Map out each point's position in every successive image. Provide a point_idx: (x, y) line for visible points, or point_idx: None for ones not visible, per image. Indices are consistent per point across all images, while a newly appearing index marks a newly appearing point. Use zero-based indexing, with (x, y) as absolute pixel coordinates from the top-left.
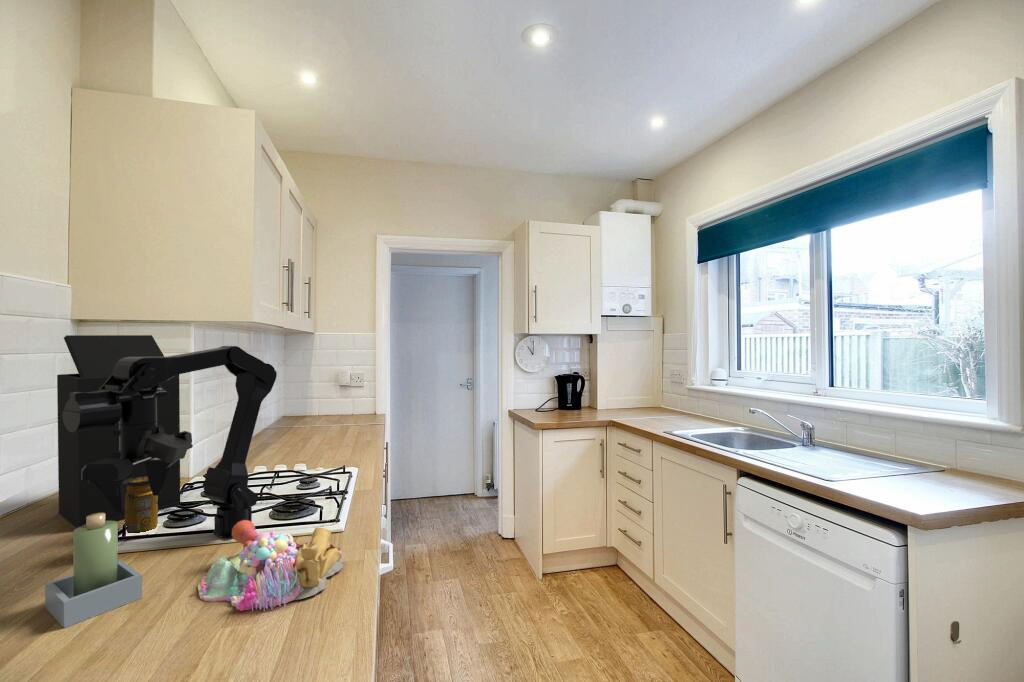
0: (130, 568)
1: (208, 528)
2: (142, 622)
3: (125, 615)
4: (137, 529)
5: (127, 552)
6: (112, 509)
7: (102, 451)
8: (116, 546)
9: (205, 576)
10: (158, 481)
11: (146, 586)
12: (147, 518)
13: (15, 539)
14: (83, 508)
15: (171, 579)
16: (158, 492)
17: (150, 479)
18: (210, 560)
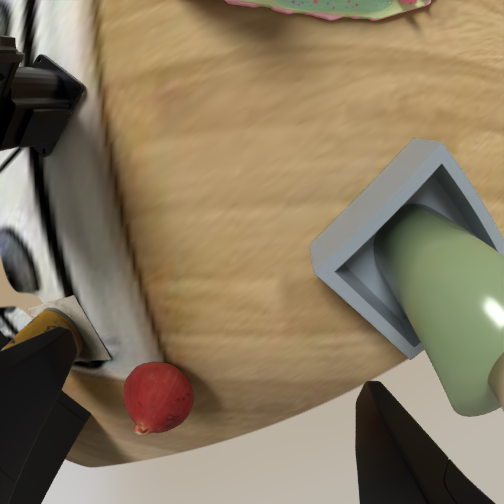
0: (392, 200)
1: (28, 190)
2: (498, 96)
3: (474, 142)
4: None
5: (148, 312)
6: None
7: None
8: (479, 252)
9: (328, 15)
10: (18, 384)
11: (354, 156)
12: None
13: (132, 458)
14: (70, 436)
15: (322, 105)
16: (60, 337)
17: (31, 428)
18: (208, 53)
